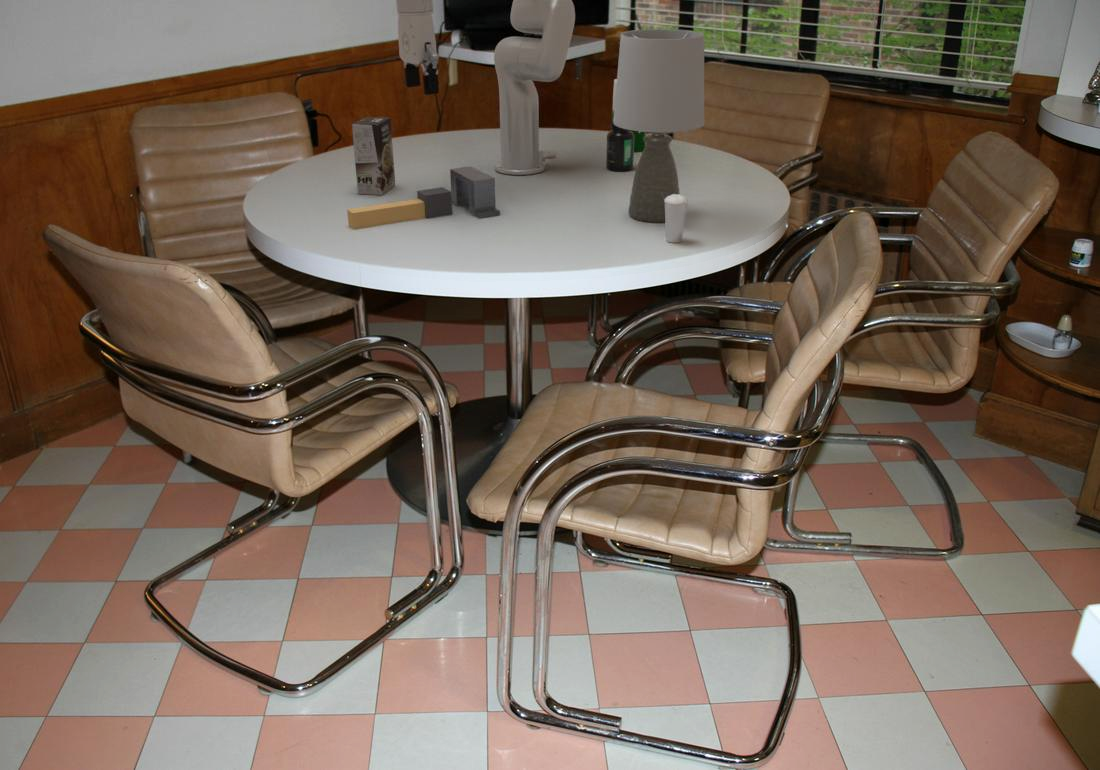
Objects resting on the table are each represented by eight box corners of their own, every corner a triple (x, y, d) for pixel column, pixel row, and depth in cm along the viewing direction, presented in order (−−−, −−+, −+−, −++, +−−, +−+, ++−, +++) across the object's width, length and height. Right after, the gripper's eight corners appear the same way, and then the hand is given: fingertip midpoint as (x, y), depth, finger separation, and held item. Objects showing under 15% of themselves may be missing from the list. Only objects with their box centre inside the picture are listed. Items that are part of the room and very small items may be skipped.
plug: (443, 209, 217) (442, 187, 215) (452, 214, 214) (451, 191, 211) (347, 224, 207) (345, 201, 205) (354, 229, 204) (352, 206, 202)
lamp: (715, 215, 212) (728, 33, 196) (659, 234, 200) (668, 42, 184) (649, 198, 224) (656, 26, 208) (593, 215, 212) (595, 34, 196)
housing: (468, 197, 225) (466, 164, 222) (500, 215, 213) (499, 180, 209) (448, 200, 223) (446, 167, 220) (479, 218, 211) (477, 183, 207)
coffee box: (383, 195, 227) (377, 124, 220) (356, 194, 228) (350, 123, 221) (396, 185, 235) (391, 116, 228) (371, 184, 236) (365, 115, 229)
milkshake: (656, 237, 198) (658, 188, 194) (682, 236, 199) (685, 187, 194) (660, 244, 194) (662, 194, 190) (687, 243, 195) (690, 193, 190)
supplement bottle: (634, 172, 246) (635, 123, 240) (606, 172, 246) (607, 123, 241) (632, 165, 252) (634, 117, 247) (605, 165, 252) (606, 117, 247)
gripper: (382, 3, 210) (391, 85, 218) (414, 12, 196) (422, 99, 204) (415, 0, 213) (422, 81, 221) (448, 8, 200) (455, 94, 208)
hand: (422, 90), depth 213 cm, fingers open, 9 cm apart
